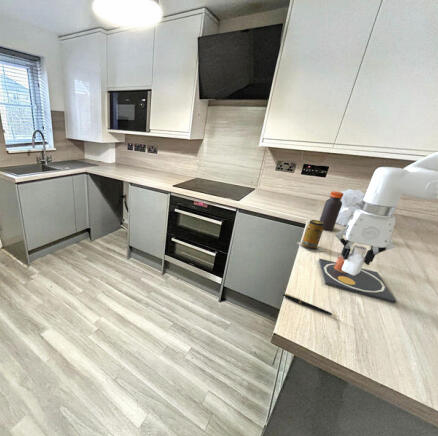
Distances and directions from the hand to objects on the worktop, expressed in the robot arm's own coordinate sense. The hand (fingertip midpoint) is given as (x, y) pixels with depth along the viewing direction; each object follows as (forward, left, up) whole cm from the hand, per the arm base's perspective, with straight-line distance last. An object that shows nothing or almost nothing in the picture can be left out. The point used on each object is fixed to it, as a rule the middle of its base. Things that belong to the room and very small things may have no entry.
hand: (355, 259), depth 78 cm
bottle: (-1, -55, -10) cm, 56 cm away
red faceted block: (0, -8, -8) cm, 11 cm away
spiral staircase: (-12, -75, -10) cm, 76 cm away
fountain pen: (+12, +21, -10) cm, 26 cm away
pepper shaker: (0, 0, -5) cm, 5 cm away
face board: (-3, -4, -9) cm, 10 cm away
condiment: (+8, -25, -10) cm, 28 cm away
